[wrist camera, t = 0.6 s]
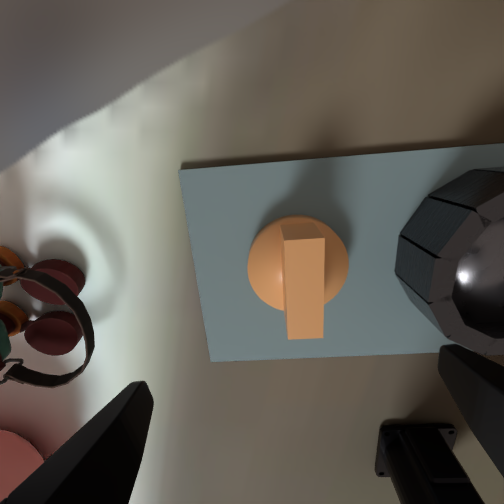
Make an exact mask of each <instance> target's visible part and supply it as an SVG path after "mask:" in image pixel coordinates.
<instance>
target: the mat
mask: <svg viewBox="0 0 504 504" xmlns="http://www.w3.org/2000/svg"><path fill="white" fill-rule="evenodd" d="M503 166H504V143H498V144H486V145H474V146H462V147H450V148H438V149H425V150H413V151H401V152H389V153H377V154H365V155H353V156H341V157H329V158H317V159H305V160H293V161H281V162H268V163H256V164H244V165H232V166H220V167H208V168H196V169H184V170H178V172H179V178H180V184H181V189H182V195H183V201H184V207H185V213H186V219H187V225H188V231H189V236H190V242H191V248H192V254H193V260H194V266H195V272H196V278H197V284H198V289H199V295H200V301H201V307H202V313H203V319H204V325H205V331H206V336H207V342H208V348H209V354H210V360H211V362H221V361H245V360H269V359H293V358H317V357H340V356H364V355H388V354H412V353H436V352H439V349H440V347H441V346H442V345H447V344H458V343H455V342H453V341H451V340H449V339H447V338H446V337H445V336H444V335H443V334H442V333H441V332H440V331H439V330H438V329H437V328H436V327H435V326H434V325H433V324H432V323H431V322H430V321H429V320H428V319H427V318H426V317H425V316H424V315H423V314H422V313H421V312H420V311H419V310H418V309H417V308H416V307H415V306H414V305H413V304H412V302H411V301H410V300H409V298H408V297H407V295H406V293H405V291H404V289H403V288H402V286H401V284H400V282H399V280H398V279H397V277H396V275H395V272H394V270H395V262H396V253H397V245H398V236H400V235H402V234H400V232H401V230H402V229H403V228H404V226H405V225H406V223H407V222H408V220H409V219H410V218H411V216H412V215H413V213H414V212H415V211H416V209H417V208H418V206H419V205H420V204H421V202H422V201H423V199H424V198H425V197H427V198H429V196H428V194H430V193H431V192H433V191H435V190H436V189H438V188H440V187H442V186H443V185H445V184H447V183H448V182H450V181H452V180H453V179H455V178H457V177H459V176H460V175H462V174H464V173H465V172H467V171H469V170H473V169H478V168H490V167H503ZM287 215H307V216H311V217H314V218H317V219H319V220H321V221H322V222H324V223H325V224H327V225H328V226H329V227H330V228H331V229H332V230H333V231H334V232H335V233H336V234H337V236H338V237H339V238H340V239H341V241H342V242H343V244H344V246H345V248H346V251H347V254H348V259H349V269H348V274H347V278H346V280H345V283H344V285H343V286H342V288H341V290H340V291H339V292H338V294H337V295H336V296H335V297H334V298H333V299H331V300H330V301H329V302H327V303H326V304H324V324H323V338H314V339H292V340H288V336H287V329H286V323H285V316H284V311H282V310H279V309H276V308H274V307H272V306H270V305H268V304H267V303H265V302H264V301H263V300H261V299H260V298H259V297H258V295H257V294H256V293H255V291H254V290H253V288H252V286H251V284H250V281H249V278H248V268H247V266H248V257H249V250H250V247H251V244H252V242H253V240H254V238H255V236H256V235H257V234H258V233H259V231H260V230H261V229H262V228H263V227H264V226H266V225H267V224H268V223H270V222H272V221H273V220H275V219H278V218H280V217H283V216H287ZM458 345H460V344H458ZM461 346H462V345H461ZM463 347H464V346H463ZM465 348H466V347H465ZM467 349H469V348H467ZM469 350H471V349H469ZM471 351H473V350H471Z"/></svg>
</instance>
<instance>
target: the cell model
mask: <svg viewBox="0 0 504 504" xmlns="http://www.w3.org/2000/svg"><path fill="white" fill-rule="evenodd" d="M43 463H44V459H43V457H42V456H41V455H40V453H39V452H38V451H37V449H36V448H35V447H34V446H33V445H32V444H31V443H30V442H29V441H28V440H27V439H25V438H23V437H22V436H20V435H18V434H15V433H13V432H10V431H6V430H0V502H1V501H2V500H3V499H4V498H6V497H8V495H9V494H10V493H11V492H12V491H13V490H14V489H15V488H16V487H17V486H19V485H20V484H21V483H22V482H23V481H24V480H25V479H26V478H27V477H28V476H29V475H31V474H32V473H33V472H34V471H35V470H36V469H37V468H38V467H39V466H40V465H42V464H43Z"/></svg>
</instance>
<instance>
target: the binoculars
mask: <svg viewBox="0 0 504 504" xmlns="http://www.w3.org/2000/svg"><path fill="white" fill-rule="evenodd" d="M20 279H21V280H20ZM18 280H20V284H21V286H22V288H23V289H24V290H25V291H26V292H27V293H28V294H29V295H31V296H32V297H34V298H36V299H38V300H40V301H43V302H46V303H49V304H54V305H64V304H66V305H67V306H68V307H69V308H70V309H71V310H72V311H73V313H74V314H72V313H69V312H65V311H52V312H49V313H46V314H44V315H42V316H40V317H39V318H37V319H36V320H35V321H32V320H30V321H29V320H28V317H27V316H26V314H25V313H24V312H23V311H22V310H21V309H20V308H19V307H17V306H16V305H14V304H13V303H11V302H8V301H3V300H2V301H0V371H1V370H2V369H3V368H4V367H5V366H6V363H8V362H19V363H18V364H14V365H13V366H12V367H11V368H10V369H9V370H8V371H7V372H6V373H5V374H4V375H3V378H4V379H3V380H2V381H0V385H1V384H3V383H5V382H6V381H7V380H12V381H16V382H18V383H21V384H24V383H26V384H29V385H33V386H37V387H47V388H55V387H58V386H62V385H66V384H68V383H69V382H70V381H72V380H73V379H74V378H76V377H77V376H78V375H80V374H81V373H82V372H83V371H84V369H85V368H86V366H87V364H88V363H89V361H90V358H91V356H92V353H93V350H94V347H95V342H94V330H93V326H92V322H91V318H90V316H89V314H88V312H87V310H86V308H85V306H84V304H83V302H82V301H81V300H80V299H79V298H78V297H77V296H78V295H79V293H80V292H81V290H82V289H83V287H84V285H85V277H84V275H83V273H82V272H81V271H80V270H79V269H78V268H77V267H76V266H74V265H73V264H71V263H69V262H66V261H63V260H58V259H50V260H44V261H41V262H39V263H37V264H35V265H34V266H33V267H32V268H28V266H27V267H25V268H24V265H23V263H22V262H21V260H20V259H19V258H18V257H17V256H16V254H15V253H13V252H12V251H11V250H9V249H8V248H6V247H3V246H0V299H1V297H2V292H3V286H8V285H11V284H13V283H15V282H16V281H18ZM23 331H25V333H24V336H25V339H26V341H27V343H28V344H29V345H30V346H31V347H33V348H34V349H36V350H37V351H39V352H42V353H44V354H47V355H63V354H66V353H68V352H70V351H72V350H73V349H74V348H75V346H76V345H77V343H78V342H79V341H80V339H81V338H82V336H84V340H85V348H86V358H85V361H84V364H83V365H82V366H81V367H79V368H78V369H77V370H75V371H74V372H72V373H68V374H64V375H61V376H58V375H50V374H43V373H40V372H37V371H34V370H30V369H28V368H26V367H24V366H22V364H23V359H11V358H10V359H7V360H4V359H5V358H6V357H7V356H8V355H9V354H10V352H11V344H10V340H9V337H10V336H14V335H16V334H18V333H19V332H20V333H21V332H23ZM3 360H4V361H3Z"/></svg>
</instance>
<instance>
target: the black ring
mask: <svg viewBox="0 0 504 504" xmlns="http://www.w3.org/2000/svg"><path fill="white" fill-rule="evenodd" d="M428 196H429V198H427V197H425V198H424V199H423V201H422V202H421V204H420V205H419V206H418V208H417V209H416V211H415V212H414V213H413V215H412V216H411V218H410V219H409V220H408V222H407V223H406V225H405V226H404V228H403V229H402V230H401V232H400V234H402V235H400V236H398V245H397V253H396V262H395V270H394V272H395V275H396V277H397V279H398V280H399V282H400V284H401V286H402V288H403V289H404V291H405V293H406V295H407V297H408V298H409V300H410V301H411V302H412V304H413V305H414V306H415V307H416V308H417V309H418V310H419V311H420V312H421V313H422V314H423V315H424V316H425V317H426V318H427V319H428V320H429V321H430V322H431V323H432V324H433V325H434V326H435V327H436V328H437V329H438V330H439V331H440V332H441V333H442V334H443V335H444V336H445V337H446V338H447V339H449V340H451V341H453V342H455V343H458V344H460V345H462V346H464V347H466V348H469V349H471V350H473V351H475V352H477V353H480V354H482V355H483V354H485V355H504V166H503V167H490V168H478V169H473V170H469V171H467V172H465V173H464V174H462V175H460V176H459V177H457V178H455V179H453V180H452V181H450V182H448V183H447V184H445V185H443V186H442V187H440V188H438V189H436V190H435V191H433V192H431V193H430V194H428Z"/></svg>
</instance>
